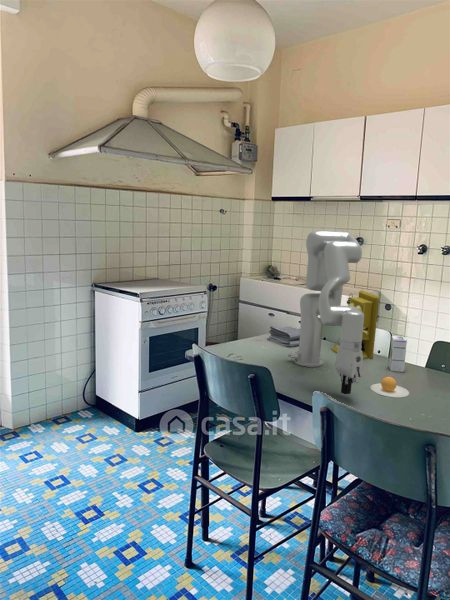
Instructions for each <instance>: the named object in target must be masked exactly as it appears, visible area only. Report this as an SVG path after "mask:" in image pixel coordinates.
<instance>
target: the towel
mask: <svg viewBox="0 0 450 600" xmlns="http://www.w3.org/2000/svg"><path fill="white" fill-rule="evenodd" d="M269 328H270V330H269V331H268V333H269V335H268V337H267V339H266V340H267V341H270V342H273V343H275V344H278V345H280V346H283V347H289V348H290V347H296V346H298V347H299V340H300V328H297V327H291V326H284V327H276V326H274V325H271V326H269Z"/></svg>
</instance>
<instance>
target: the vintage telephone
mask: <svg viewBox="0 0 450 600" xmlns="http://www.w3.org/2000/svg"><path fill="white" fill-rule="evenodd" d="M379 301H380V296H379V295H376V294H373V293H371V292H368V291H365V290H361V289H360V291H358V297H357V296H355V297H354V296H353V293H350V295H349V297H348V298H347V300H346V304H347V306H353V307H355V308H357V310H358V311H361V312H362V313H363V314H364V324H363V334H362V344H361V346H362V348H361V351H362V354H363V359H368V358H369V360H373V359H374V350H375V341H376V332H377V323H378V321H377V320H378V312H379V304H380V302H379ZM339 340H340V337H339V339H338V340H337V341H336V343H338V342H339ZM338 348H339V345H334V346H333V347H331V350H332V351H333V352H334V353H336V354H337V352H338Z"/></svg>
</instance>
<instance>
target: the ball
mask: <svg viewBox="0 0 450 600" xmlns="http://www.w3.org/2000/svg"><path fill="white" fill-rule="evenodd" d="M380 383H381V386H382V388H383V389H384V390H385V391H393V390H394V389H395V388H396V385H397V381H396V380H395V379H394V378H393V377H392V376H385V377H384V378H383V379H382V380H381V382H380ZM397 386H398V385H397Z"/></svg>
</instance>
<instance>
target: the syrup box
mask: <svg viewBox="0 0 450 600" xmlns="http://www.w3.org/2000/svg"><path fill="white" fill-rule="evenodd" d="M390 339H391V340H390V348H389V349H390V351H389V361H388V369H389V370H390V371H392V372H396V373H397V372H400V373H404V372H405V363H406V353H407V343H408V339H406V337H405V336H402V335H391V338H390Z"/></svg>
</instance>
